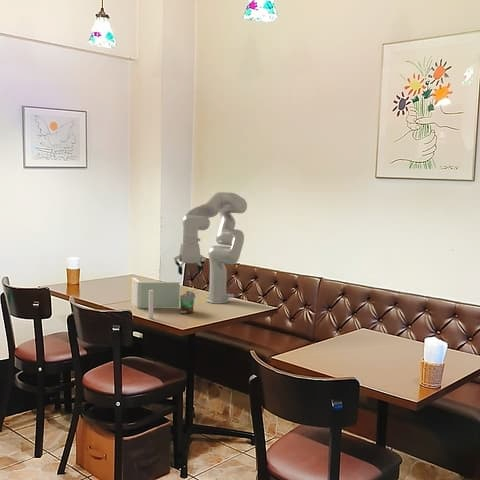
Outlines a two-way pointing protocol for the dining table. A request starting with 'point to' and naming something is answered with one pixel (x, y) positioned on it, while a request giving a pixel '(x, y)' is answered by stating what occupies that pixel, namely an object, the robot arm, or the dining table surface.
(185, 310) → the food container
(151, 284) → the door
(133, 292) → the door frame
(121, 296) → the dining table surface
